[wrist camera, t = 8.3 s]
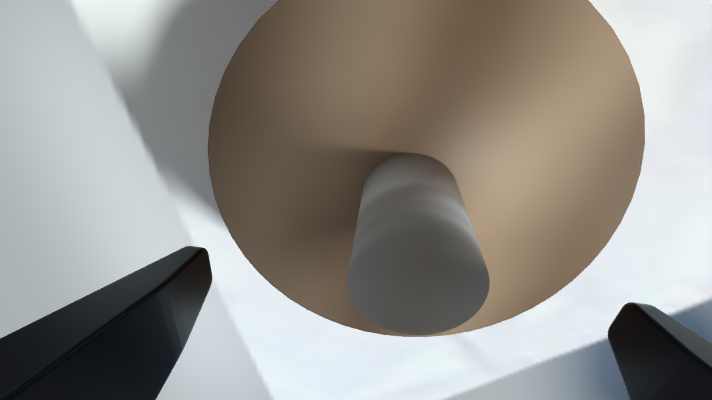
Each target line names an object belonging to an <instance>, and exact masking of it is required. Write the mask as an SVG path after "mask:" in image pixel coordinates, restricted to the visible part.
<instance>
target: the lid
mask: <svg viewBox="0 0 712 400" xmlns="http://www.w3.org/2000/svg"><path fill="white" fill-rule="evenodd" d="M644 145H645V127H644V110H643V104H642V99H641V93H640V87H639V84H638V81H637V78H636V75H635V73H634V70H633V67H632V64H631V62H630V59H629V56H628V54H627V53H626V51H625V49H624V48H623V46H622V44H621V42H620V41H619V39H618V37H617V36H616V34H615V32H614V30H613V29H612V27H611V26H610V25H609V24H608V23H607V21H606V20H605V19H604V18H603V17H602V16H601V14H600V13H599V12H598V11H597V10H596V9H595V7H594V6H593V5H592V4H591V3H590V2H589V1H588V0H279V1H278V2H277V3H276V4H275V5H274V6H273V7H271V8H270V9H269V10H268V11H267V12H266V13H265V14H264V15H263V16H262V17H261V18H260V19H259V20H258V21H257V23H256V24H255V25H254V27H253V28H252V29H251V31H250V32H249V33H248V34H247V36H246V37H245V38H244V40H243V41H242V42H241V44H240V45H239V47H238V48H237V50H236V52H235V54H234V56H233V58H232V59H231V61H230V63H229V65H228V67H227V68H226V70H225V72H224V75H223V78H222V81H221V83H220V86H219V89H218V91H217V94H216V97H215V101H214V105H213V110H212V115H211V120H210V125H209V141H208V156H209V169H210V177H211V182H212V186H213V191H214V195H215V199H216V202H217V204H218V207H219V210H220V213H221V216H222V218H223V220H224V222H225V224H226V226H227V228H228V230H229V232H230V234H231V236H232V238H233V239H234V241H235V242H236V244H237V245H238V247H239V248H240V250H241V251H242V253H243V254H244V256H245V257H246V258H247V259H248V261H249V262H250V263H251V264H252V265H253V266H254V268H255V269H256V270H257V271H258V272H259V273H260V274H261V275H262V276H263V277H264V278H265V279H266V280H267V281H268V282H269V283H270V284H271V285H273V286H274V287H275V288H276V289H278V290H279V291H280V292H282V293H283V294H284V295H285V296H287V297H288V298H289V299H291V300H293V301H294V302H296V303H298V304H299V305H301V306H302V307H304V308H306V309H307V310H309V311H311V312H313V313H315V314H318V315H320V316H322V317H324V318H326V319H328V320H331V321H334V322H336V323H339V324H342V325H344V326H348V327H352V328H355V329H359V330H362V331H367V332H372V333H378V334H383V335H393V336H404V337H430V336H442V335H451V334H456V333H462V332H468V331H472V330H476V329H480V328H483V327H487V326H491V325H494V324H496V323H499V322H502V321H504V320H507V319H510V318H512V317H514V316H517V315H519V314H521V313H523V312H525V311H527V310H529V309H531V308H533V307H535V306H536V305H538V304H540V303H541V302H543V301H545V300H546V299H548V298H550V297H551V296H553V295H554V294H556V293H557V292H558V291H559V290H561V289H562V288H563V287H565V286H566V285H567V284H569V283H570V282H571V281H573V280H574V279H575V278H576V277H577V276H578V275H579V274H580V273H581V272H582V271H583V270H584V269H585V268H586V267H587V266H588V265H590V263H591V262H592V261H593V260H594V259H595V258H596V256H597V255H598V254H599V253H600V252H601V250H602V249H603V248H604V247H605V246H606V244H607V243H608V241H609V240H610V238H611V237H612V235H613V234H614V232H615V231H616V229H617V227H618V226H619V224H620V223H621V221H622V219H623V217H624V214H625V212H626V210H627V208H628V206H629V204H630V202H631V200H632V197H633V194H634V191H635V188H636V184H637V181H638V178H639V175H640V171H641V165H642V158H643V152H644Z"/></svg>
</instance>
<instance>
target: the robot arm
mask: <svg viewBox="0 0 712 400" xmlns="http://www.w3.org/2000/svg"><path fill="white" fill-rule="evenodd" d="M211 283H212V272H211V267H210V261H209V255H208V252H207V250H206V249H205V248H201V247H193V246H187V247H184V248H182V249H180V250H178V251H176V252H174V253H172V254H170V255H168V256H166V257H164V258H162V259H160V260H158V261H156V262H153V263H152V264H149V265H147V266H146V267H144V268H141V269H139V270H137V271H135V272H133V273H132V274H129V275H127V276H126V277H123V278H121V279H119V280H117V281H115V282H114V283H112V284H109V285H107V286H105V287H103V288H101V289H100V290H97V291H95V292H93V293H91V294H89V295H87V296H85V297H83V298H81V299H79V300H77V301H75V302H73V303H71V304H69V305H67V306H65V307H63V308H61V309H59V310H57V311H55V312H53V313H51V314H49V315H47V316H45V317H43V318H41V319H39V320H37V321H35V322H33V323H31V324H29V325H27V326H25V327H23V328H21V329H19V330H17V331H15V332H13V333H11V334H9V335H7V336H5V337H3V338H1V339H0V400H155V399H156V398H157V396H158V394H159V393H160V391H161V389H162V387H163V385H164V383H165V382H166V380H167V378H168V376H169V375H170V373H171V371H172V369H173V368H174V366H175V364H176V362H177V360H178V358H179V357H180V355H181V353H182V351H183V349H184V347H185V344H186V342H187V340H188V338H189V335H190V333H191V331H192V329H193V326H194V324H195V321H196V319H197V317H198V315H199V312H200V310H201V308H202V305H203V303H204V300H205V298H206V296H207V294H208V291H209V289H210V286H211ZM608 339H609V343H610V345H611V348H612V351H613V354H614V357H615V359H616V362H617V365H618V368H619V371H620V373H621V376H622V379H623V382H624V385H625V387H626V390H627V393H628V396H629V398H630V400H712V343H711V342H710V341H708V340H707V339H705V338H703V337H702V336H700V335H699V334H697V333H695V332H694V331H692V330H691V329H689V328H687V327H686V326H684V325H683V324H681V323H679V322H678V321H676V320H675V319H673V318H671V317H670V316H668V315H667V314H665V313H663V312H662V311H660V310H659V309H657V308H656V307H654V306H651V305H648V304H641V303H633V302H631V303H627V304H625V305H624V306H623V307H622V309H621V310H620V312H619V313H618V315H617V316H616V318H615V319H614V321H613V323H612V324H611V326H610V327H609V330H608Z"/></svg>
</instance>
